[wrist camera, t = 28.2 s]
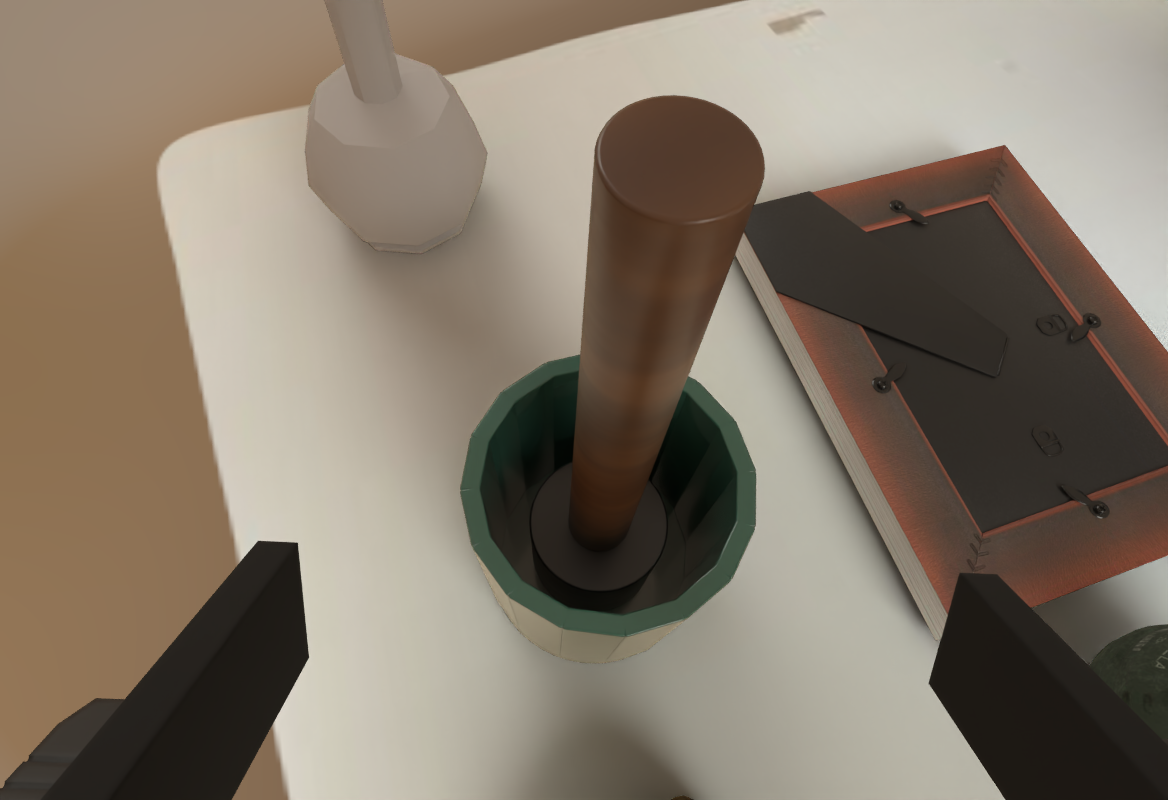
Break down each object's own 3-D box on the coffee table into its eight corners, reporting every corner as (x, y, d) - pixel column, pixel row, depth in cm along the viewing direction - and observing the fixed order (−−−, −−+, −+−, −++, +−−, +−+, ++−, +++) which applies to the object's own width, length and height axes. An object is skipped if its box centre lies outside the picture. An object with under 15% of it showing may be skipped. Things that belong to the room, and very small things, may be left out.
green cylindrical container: (736, 573, 29) (817, 506, 20) (575, 712, 27) (586, 706, 18) (607, 423, 32) (628, 306, 23) (450, 536, 30) (404, 454, 21)
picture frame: (722, 240, 37) (929, 642, 28) (733, 208, 35) (961, 635, 26) (982, 174, 40) (1241, 522, 31) (1008, 141, 37) (1295, 506, 29)
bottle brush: (676, 560, 29) (957, 186, 9) (582, 638, 27) (661, 401, 7) (601, 470, 30) (693, -21, 10) (509, 539, 29) (407, 122, 9)
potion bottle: (317, 161, 38) (143, -254, 22) (473, 133, 40) (418, -276, 23) (338, 286, 35) (150, -96, 19) (508, 251, 36) (472, -133, 20)
